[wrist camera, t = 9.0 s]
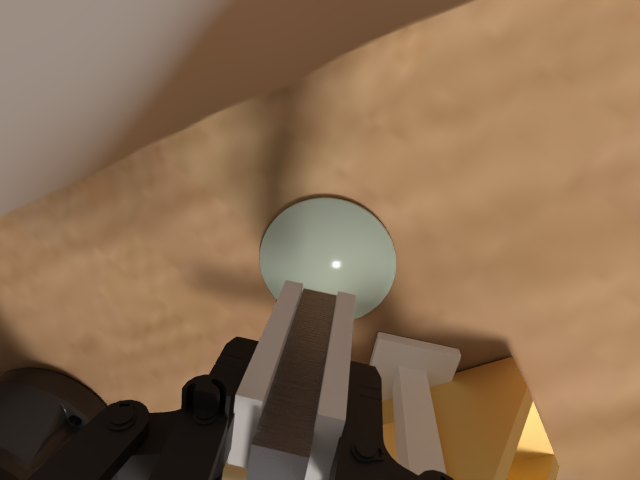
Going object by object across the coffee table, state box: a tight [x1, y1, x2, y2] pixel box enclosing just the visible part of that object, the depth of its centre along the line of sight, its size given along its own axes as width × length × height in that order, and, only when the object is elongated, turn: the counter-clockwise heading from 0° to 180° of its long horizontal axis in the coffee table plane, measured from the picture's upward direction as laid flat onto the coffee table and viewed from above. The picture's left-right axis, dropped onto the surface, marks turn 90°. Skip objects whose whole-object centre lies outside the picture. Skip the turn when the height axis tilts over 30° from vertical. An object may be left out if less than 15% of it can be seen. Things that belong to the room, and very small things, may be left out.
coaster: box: [260, 197, 396, 319], centre depth 31 cm, size 11×11×1 cm
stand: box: [222, 332, 461, 480], centre depth 27 cm, size 20×7×18 cm, turn 80°
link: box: [246, 288, 337, 480], centre depth 15 cm, size 2×10×8 cm, turn 170°
